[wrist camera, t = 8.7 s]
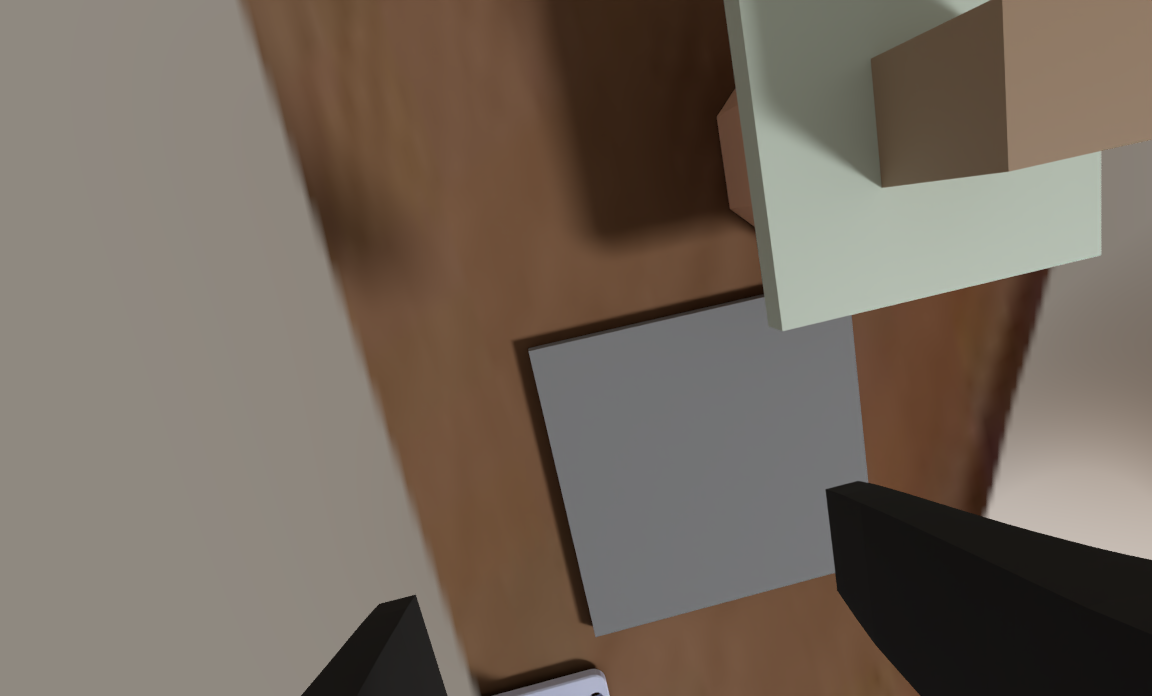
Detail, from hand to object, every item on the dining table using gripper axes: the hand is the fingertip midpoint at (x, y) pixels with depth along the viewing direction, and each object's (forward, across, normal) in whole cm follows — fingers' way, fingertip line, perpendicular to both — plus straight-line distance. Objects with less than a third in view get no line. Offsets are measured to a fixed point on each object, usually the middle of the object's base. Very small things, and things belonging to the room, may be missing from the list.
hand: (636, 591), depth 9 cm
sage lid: (+6, -10, -7) cm, 14 cm away
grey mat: (+10, -4, +3) cm, 11 cm away
